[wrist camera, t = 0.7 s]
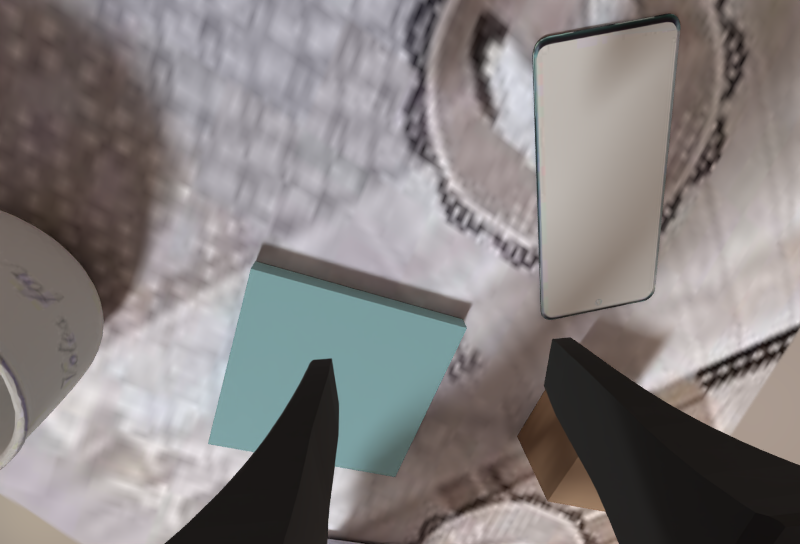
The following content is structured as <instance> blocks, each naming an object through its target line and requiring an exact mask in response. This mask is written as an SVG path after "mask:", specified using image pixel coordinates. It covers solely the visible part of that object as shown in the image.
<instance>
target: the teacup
mask: <svg viewBox="0 0 800 544" xmlns="http://www.w3.org/2000/svg"><path fill="white" fill-rule="evenodd" d="M103 325H104V320H103V311H102V307H101V302H100V299H99V296H98V293H97V291H96V288H95V286H94V284H93V283H92V281H91V279H90V278H89V276H88V275H87V273H86V271H85V270H84V269H83V267H82V266H81V265H80V263H79V262H78V261H77V260H76V259H75V258H74V257H73V256H72V255H71V254H70V253H69V252H68V251H67V250H66V249H65V248H64V247H63V246H62V245H61V244H59V243H58V242H57V241H56V240H54V239H53V238H52V237H50V236H49V235H47V234H46V233H44V232H43V231H41V230H40V229H38V228H37V227H35V226H33V225H31V224H29V223H27V222H26V221H24V220H22V219H20V218H18V217H16V216H13V215H11V214H9V213H6V212H4V211H1V210H0V470H1V469H2V468H4V467H5V466H6V465H7V464H8V463H9V462H10V461H11V460H12V459H13V458H14V457H15V456H16V454H17V453H18V452H19V451H20V449H21V448H22V446H23V444H24V442H25V440H26V439H27V438H28V436H29V435H30V434H31V433H32V432H33V431H34V430H35V429H36V428H37V427H38V426H39V425H40V424H41V423H42V422H43V421H44V420H45V419H46V418H47V416H48V415H49V414H50V413H51V412H52V411H53V410H54V409H55V408H56V407H57V406H58V404H59V403H60V402H61V401H62V400H63V399H64V398H65V397H66V396H67V394H68V393H69V392H70V391H71V390H72V389H73V387H74V386H75V385H76V384H77V383H78V381H79V380H80V379H81V378H82V376H83V375H84V374H85V372H86V371H87V370H88V368H89V367H90V365H91V363H92V362H93V360H94V358H95V356H96V354H97V352H98V349H99V346H100V343H101V340H102V335H103Z"/></svg>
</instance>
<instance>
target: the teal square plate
mask: <svg viewBox="0 0 800 544" xmlns="http://www.w3.org/2000/svg"><path fill="white" fill-rule="evenodd" d="M466 329H467V327H466V325H465V323H464V321H463V319H460V318H456V317H453V316H449V315H446V314H442V313H439V312H435V311H431V310H428V309H424V308H421V307H417V306H414V305H410V304H406V303H403V302H399V301H396V300H392V299H389V298H385V297H381V296H378V295H374V294H371V293H367V292H364V291H360V290H356V289H353V288H349V287H346V286H342V285H339V284H335V283H331V282H328V281H324V280H321V279H317V278H314V277H310V276H306V275H303V274H299V273H296V272H292V271H289V270H285V269H281V268H278V267H274V266H271V265H267V264H264V263H260V262H256V261H255V263H254V264H253V266H252V268H251V270H250V274H249V279H248V283H247V287H246V291H245V295H244V299H243V303H242V307H241V311H240V315H239V319H238V324H237V328H236V332H235V336H234V340H233V344H232V348H231V352H230V356H229V360H228V364H227V368H226V373H225V377H224V381H223V385H222V389H221V393H220V397H219V401H218V405H217V409H216V413H215V418H214V422H213V426H212V430H211V434H210V438H209V442H208V444H211V445H217V446H223V447H228V448H234V449H240V450H245V451H251V452H255V451H256V449H257V448H258V447H259V445H260V444H261V443H262V441H263V440H264V439H265V437H266V436H267V435H268V433H269V432H270V430H271V429H272V427H273V426H274V424H275V423H276V421H277V420H278V418H279V417H280V416H281V414H282V412H283V411H284V409H285V408H286V406H287V404H288V403H289V401H290V399H291V398H292V396H293V394H294V393H295V391H296V389H297V387H298V385H299V384H300V382H301V380H302V378H303V376H304V374H305V372H306V370H307V368H308V366H309V363H310V362H311V361H312V360H317V359H328V358H332V362H333V368H334V375H335V381H336V387H337V394H338V400H339V436H338V444H337V452H336V460H335V466H336V467H341V468H347V469H353V470H358V471H364V472H369V473H375V474H381V475H386V476H392V477H395V476H396V474H397V472H398V470H399V468H400V466H401V464H402V462H403V460H404V458H405V456H406V454H407V451H408V449H409V447H410V445H411V443H412V441H413V439H414V437H415V435H416V433H417V431H418V429H419V426H420V424H421V422H422V420H423V418H424V416H425V414H426V412H427V410H428V408H429V406H430V404H431V402H432V399H433V397H434V395H435V393H436V391H437V389H438V387H439V385H440V383H441V381H442V379H443V377H444V375H445V372H446V370H447V368H448V366H449V364H450V362H451V360H452V358H453V356H454V354H455V352H456V350H457V348H458V345H459V343H460V341H461V339H462V337H463V335H464V333H465V331H466Z"/></svg>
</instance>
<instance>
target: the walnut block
mask: <svg viewBox="0 0 800 544" xmlns="http://www.w3.org/2000/svg"><path fill="white" fill-rule="evenodd" d="M517 437H518V439H519V441H520V444H521V446H522V448H523V450H524V452H525V454H526V456H527V458H528V461H529V463H530V465H531V467H532V469H533V471H534V473H535V475H536V478H537V480H538V482H539V484H540V486H541V488H542V490H543V492H544V495H545V497H546V499H547V501H549V502H554V503H560V504H565V505H571V506H577V507H582V508H588V509H593V510H599V511H604V512H606V511H605V509H604V507H603V504H602V502H601V500H600V497H599V495H598V493H597V491H596V489H595V487H594V485H593V483H592V481H591V479H590V477H589V475H588V473H587V471H586V470H585V468H584V466H583V464H582V462H581V460H580V459H579V457H578V455H577V453H576V451H575V450H574V448H573V446H572V444H571V442H570V441H569V439H568V437H567V435H566V433H565V431H564V430H563V428H562V426H561V424H560V422H559V420H558V418H557V417H556V415H555V412H554V410H553V408H552V405H551V403H550V400H549V397H548V395H547V392H546V389H545V391H544V393H543V394H542V396H541V398H540V399H539V401H538V403H537V404H536V406H535V408H534V409H533V411H532V413H531V414H530V416H529V418H528V419H527V421H526V423H525V424H524V426H523V428H522V429H521V431H520V433H519V434H518V436H517Z"/></svg>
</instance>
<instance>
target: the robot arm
mask: <svg viewBox="0 0 800 544" xmlns="http://www.w3.org/2000/svg"><path fill="white" fill-rule="evenodd" d="M544 387H545V389H546V392H547V395H548V397H549V400H550V403H551V405H552V408H553V410H554V412H555V415H556V417H557V418H558V420H559V422H560V424H561V426H562V428H563V430H564V431H565V433H566V435H567V437H568V439H569V441H570V442H571V444H572V446H573V448H574V450H575V451H576V453H577V455H578V457H579V459H580V460H581V462H582V464H583V466H584V468H585V470H586V471H587V473H588V475H589V477H590V479H591V481H592V483H593V485H594V487H595V489H596V491H597V493H598V495H599V497H600V500H601V502H602V504H603V507H604V509H605V511H606V514H607V516H608V518H609V520H610V523H611V525H612V528H613V530H614V533H615V535H616V538H617V540H618V542H619V544H800V465H797V464H795V463H792V462H790V461H787V460H785V459H782V458H779V457H777V456H775V455H772V454H770V453H767V452H765V451H762V450H760V449H758V448H755V447H753V446H751V445H749V444H746V443H744V442H742V441H739V440H737V439H735V438H733V437H731V436H729V435H727V434H725V433H723V432H721V431H718V430H716V429H714V428H712V427H710V426H708V425H706V424H704V423H702V422H700V421H699V420H697V419H695V418H693V417H691V416H689V415H688V414H686V413H684V412H682V411H680V410H678V409H677V408H675V407H673V406H671V405H670V404H668V403H666V402H664V401H663V400H661V399H660V398H658V397H656V396H655V395H653V394H652V393H650V392H648V391H647V390H645V389H644V388H642V387H641V386H639V385H638V384H636V383H635V382H633V381H631V380H630V379H629V378H627V377H626V376H624V375H623V374H621V373H620V372H618V371H617V370H616V369H614V368H613V367H611V366H610V365H608V364H607V363H606V362H604V361H603V360H602V359H600V358H599V357H597V356H596V355H595V354H593V353H592V352H590V351H589V350H588V349H586V348H585V347H583V346H582V345H581V344H579V343H578V342H576V341H575V340H573V339H572V338H559V339H552V344H551V349H550V355H549V360H548V366H547V372H546V377H545V383H544ZM338 436H339V400H338V394H337V387H336V381H335V375H334V368H333V362H332V358H328V359H317V360H312V361H311V362H310V363H309V366H308V368H307V370H306V372H305V374H304V376H303V378H302V380H301V382H300V384H299V385H298V387H297V389H296V391H295V393H294V394H293V396H292V398H291V399H290V401H289V403H288V404H287V406H286V408H285V409H284V411H283V412H282V414H281V416H280V417H279V418H278V420H277V421H276V423H275V424H274V426H273V427H272V429H271V430H270V432H269V433H268V435H267V436H266V437H265V439H264V440H263V441H262V443H261V444H260V445H259V447H258V448H257V449H256V451H255V452H254V453H253V454H252V456H251V457H250V458H249V459H248V461H247V462H246V463H245V464H244V465H243V467H242V468H241V469H240V470H239V471H238V472H237V473H236V475H235V476H234V477H233V478H232V479H231V480H230V481H229V482H228V484H227V485H226V486H225V487H224V488H223V489H222V490H221V491H220V492H219V493H218V494H217V495H216V496H215V497H214V498H213V499H212V500H211V501H210V502H209V503H208V504H207V505H206V506H205V507H204V508H203V509H202V510H201V511H200V512H199V513H198V514H197V515H196V516H195V517H194V518H193V519H192V520H191V521H190V522H189V523H188V524H187V525H185V526H184V527H183V528H182V529H181V530H180V531H179V532H178V533H176V534H175V535H174V536H173V537H172V538H171V539H169V540H168V541H167V542H166V543H165V544H363V543H356V542H348V541H341V540H334V539H328V518H329V507H330V499H331V491H332V483H333V476H334V468H335V460H336V452H337V444H338Z"/></svg>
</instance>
